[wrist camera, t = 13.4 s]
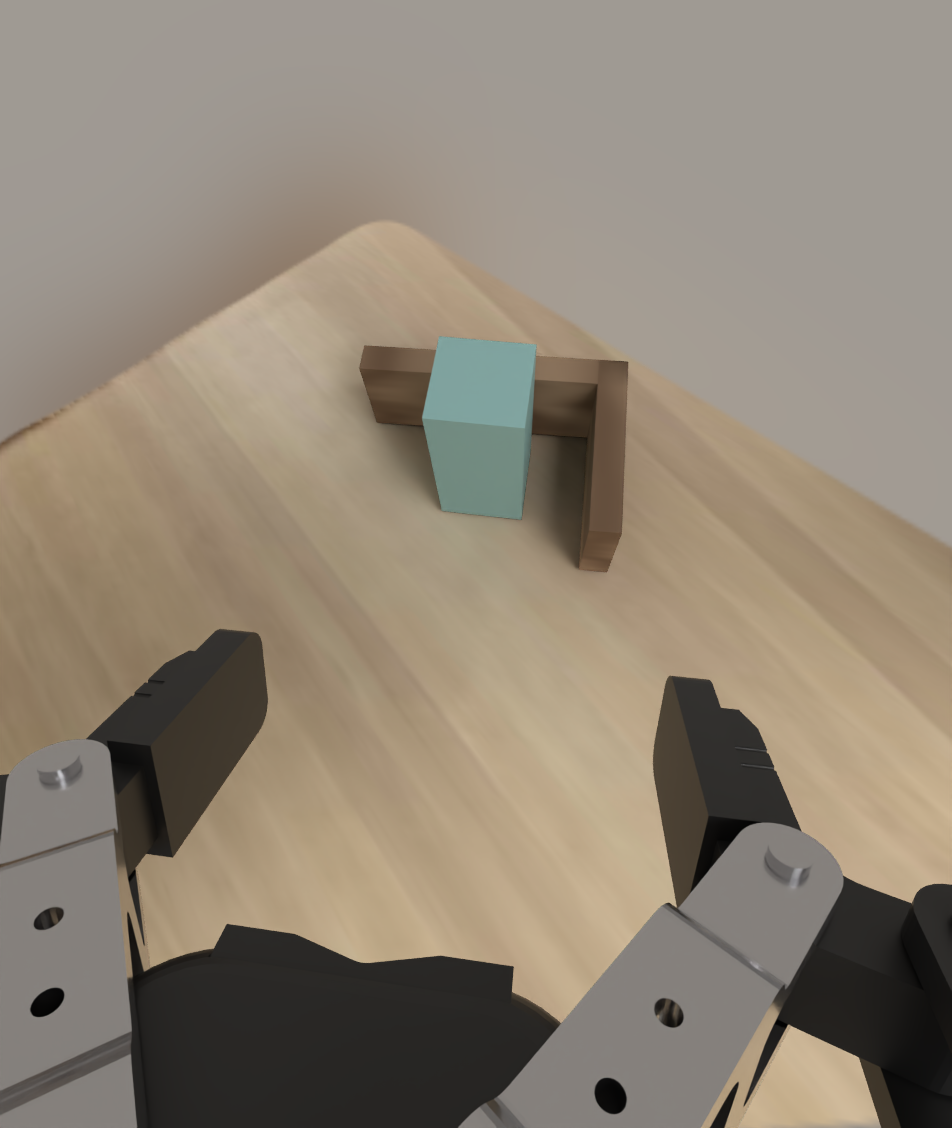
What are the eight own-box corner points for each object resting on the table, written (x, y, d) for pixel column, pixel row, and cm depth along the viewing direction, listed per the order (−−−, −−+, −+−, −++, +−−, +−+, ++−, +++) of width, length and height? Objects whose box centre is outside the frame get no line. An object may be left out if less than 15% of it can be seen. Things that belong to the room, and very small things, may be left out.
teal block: (530, 450, 38) (536, 344, 30) (521, 519, 36) (524, 428, 28) (454, 442, 39) (439, 336, 30) (441, 510, 37) (421, 418, 29)
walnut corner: (614, 417, 39) (628, 361, 34) (607, 572, 35) (621, 533, 30) (381, 401, 40) (364, 345, 35) (351, 549, 36) (328, 508, 32)
